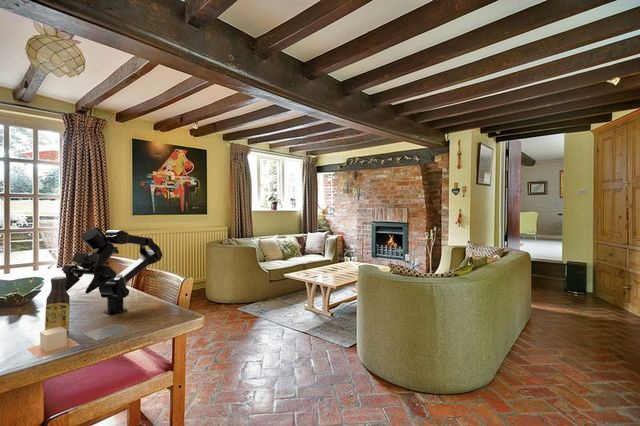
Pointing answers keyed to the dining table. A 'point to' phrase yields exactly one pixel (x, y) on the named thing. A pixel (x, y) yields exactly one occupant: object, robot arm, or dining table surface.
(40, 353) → the terracotta tile
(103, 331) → the slate tile
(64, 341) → the cream block
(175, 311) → the dining table surface
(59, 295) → the sauce bottle
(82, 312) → the dining table surface
